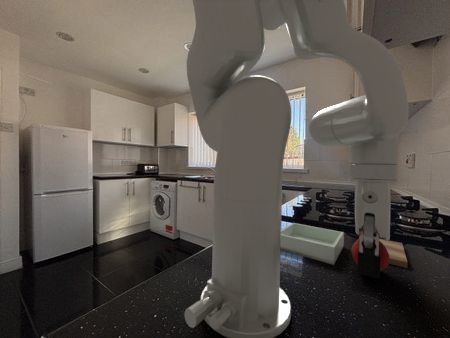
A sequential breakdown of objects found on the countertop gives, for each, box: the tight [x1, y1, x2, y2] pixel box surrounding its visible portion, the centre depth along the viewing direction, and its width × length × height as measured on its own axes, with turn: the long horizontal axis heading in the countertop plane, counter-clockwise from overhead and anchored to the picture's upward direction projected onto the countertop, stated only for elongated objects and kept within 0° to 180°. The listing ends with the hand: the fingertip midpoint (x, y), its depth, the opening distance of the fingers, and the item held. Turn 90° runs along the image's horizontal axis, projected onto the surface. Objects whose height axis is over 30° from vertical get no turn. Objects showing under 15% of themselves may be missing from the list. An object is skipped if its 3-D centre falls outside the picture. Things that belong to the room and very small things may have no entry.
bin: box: [280, 222, 345, 266], centre depth 50 cm, size 13×13×4 cm
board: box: [358, 236, 408, 269], centre depth 49 cm, size 14×9×1 cm, turn 142°
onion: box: [350, 235, 390, 272], centre depth 38 cm, size 6×6×8 cm
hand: (369, 267), depth 38 cm, fingers closed on onion, 5 cm apart
